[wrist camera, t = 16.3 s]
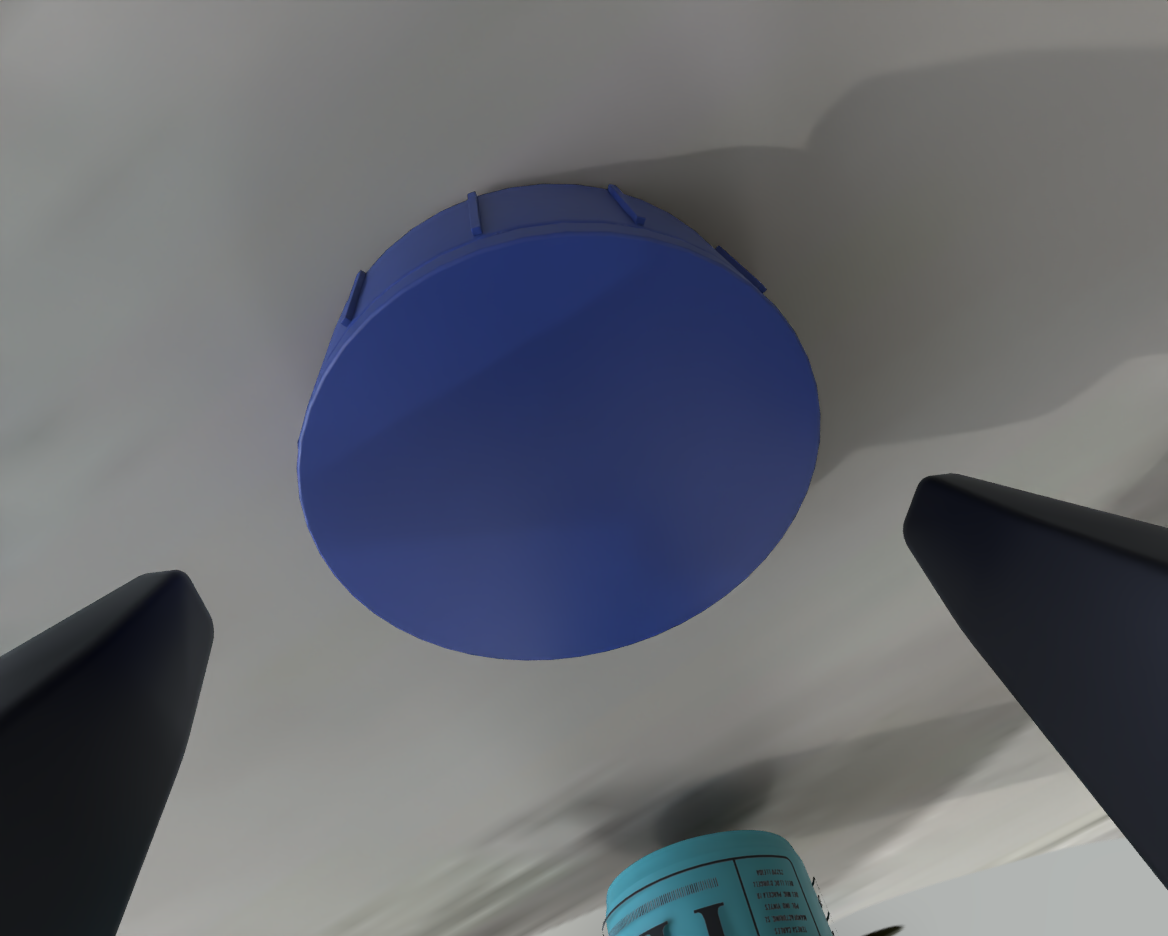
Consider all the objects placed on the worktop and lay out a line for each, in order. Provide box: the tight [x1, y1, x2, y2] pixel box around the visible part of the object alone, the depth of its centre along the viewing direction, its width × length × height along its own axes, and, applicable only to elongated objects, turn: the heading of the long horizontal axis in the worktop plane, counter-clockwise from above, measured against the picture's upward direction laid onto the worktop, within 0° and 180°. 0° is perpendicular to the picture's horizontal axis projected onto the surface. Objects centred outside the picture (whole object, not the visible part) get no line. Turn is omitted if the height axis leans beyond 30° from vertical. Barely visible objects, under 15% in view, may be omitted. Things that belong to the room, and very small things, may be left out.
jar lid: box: [297, 184, 821, 660], centre depth 10 cm, size 7×7×2 cm
